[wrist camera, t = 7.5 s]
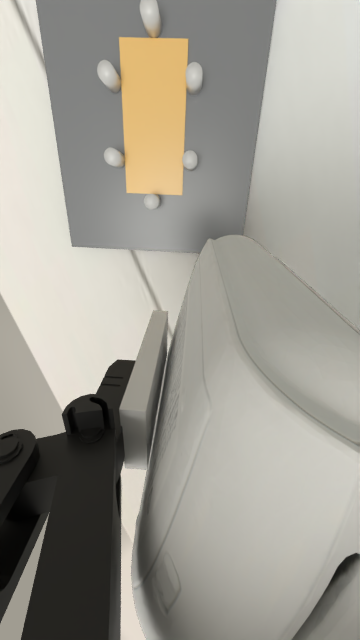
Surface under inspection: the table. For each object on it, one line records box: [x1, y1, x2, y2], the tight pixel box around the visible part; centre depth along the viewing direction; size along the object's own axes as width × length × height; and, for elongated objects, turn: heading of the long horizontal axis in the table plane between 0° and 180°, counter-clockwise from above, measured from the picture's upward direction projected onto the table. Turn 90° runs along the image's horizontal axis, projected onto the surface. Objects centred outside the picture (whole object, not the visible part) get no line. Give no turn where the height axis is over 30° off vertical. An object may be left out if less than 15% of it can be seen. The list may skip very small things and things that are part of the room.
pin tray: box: [36, 0, 276, 253], centre depth 24 cm, size 20×24×4 cm
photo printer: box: [131, 235, 360, 640], centre depth 9 cm, size 10×4×12 cm, turn 165°
